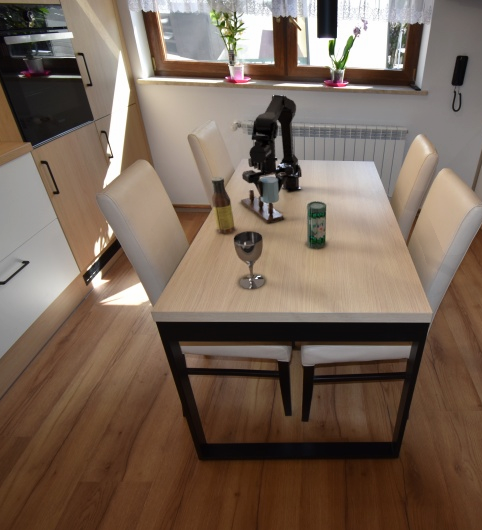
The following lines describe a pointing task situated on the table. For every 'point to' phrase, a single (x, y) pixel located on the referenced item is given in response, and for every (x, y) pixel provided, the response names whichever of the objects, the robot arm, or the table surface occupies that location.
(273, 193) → the cup
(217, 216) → the sauce bottle
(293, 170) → the robot arm
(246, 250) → the wine glass
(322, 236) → the can
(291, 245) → the table surface
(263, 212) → the rack
